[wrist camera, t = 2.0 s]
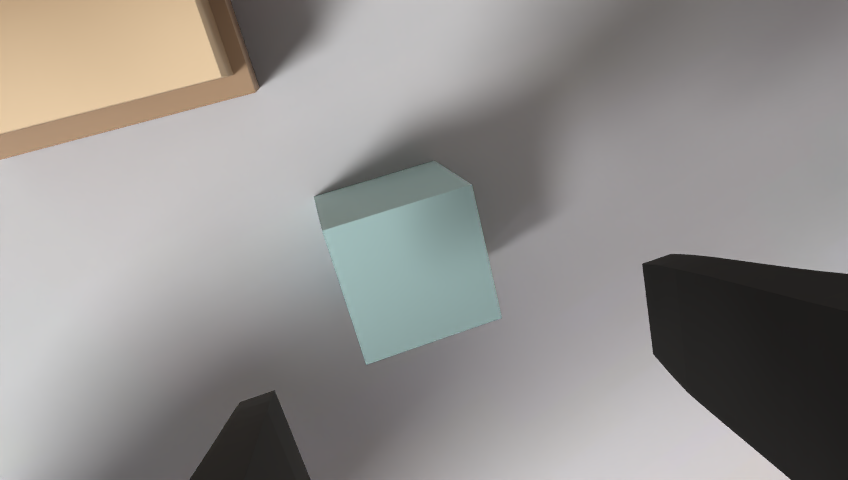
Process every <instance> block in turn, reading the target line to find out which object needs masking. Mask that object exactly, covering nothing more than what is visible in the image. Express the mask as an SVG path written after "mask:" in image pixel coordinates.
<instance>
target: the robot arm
mask: <svg viewBox="0 0 848 480" xmlns="http://www.w3.org/2000/svg"><path fill="white" fill-rule="evenodd" d="M642 265H643V274H644V282H645V290H646V298H647V307H648V315H649V323H650V331H651V339H652V348H653V354H654V355H655V357H656V358H657V359H658V360H659V361H660V362H661V364H662V365H663V366H664V367H665V368H666V369H667V370H668V372H669V373H670V374H671V375H672V376H673V377H674V378H675V379H676V380H677V381H678V383H679V384H680V385H681V386H682V387H683V388H684V389H685V390H686V391H687V392H688V393H689V394H690V395H691V396H692V397H694V398H695V399H696V400H697V401H698V402H699V403H700V404H702V405H703V406H704V407H705V408H706V409H707V410H709V411H710V412H711V413H712V414H713V415H714V416H716V417H717V418H718V419H719V420H720V421H722V422H723V423H724V424H725V425H726V426H727V427H729V428H730V429H731V430H732V431H733V432H735V433H736V434H737V435H738V436H739V437H741V438H742V439H743V440H744V441H745V442H747V443H748V444H749V445H750V446H751V447H753V448H754V449H755V450H756V451H757V452H759V453H760V454H761V455H762V456H763V457H765V458H766V459H767V460H768V461H769V462H771V463H772V464H773V465H774V466H775V467H777V468H778V469H779V470H780V471H781V472H783V473H784V474H785V475H786V476H787V477H788V478H790V479H791V480H848V274H843V273H833V272H823V271H814V270H806V269H798V268H790V267H782V266H775V265H767V264H760V263H753V262H745V261H738V260H731V259H723V258H715V257H707V256H698V255H685V254H669V255H667V256H664V257H661V258H658V259H655V260H652V261H649V262H646V263H643V264H642ZM190 480H310V478H309V475H308V473H307V470H306V468H305V465H304V463H303V460H302V458H301V455H300V453H299V450H298V448H297V445H296V443H295V440H294V438H293V435H292V433H291V430H290V428H289V425H288V423H287V420H286V418H285V415H284V413H283V410H282V408H281V405H280V403H279V400H278V398H277V395H276V393H275V390H274V391H272V392H269V393H266V394H263V395H260V396H257V397H254V398H251V399H248V400H245V401H243V402H240V403H239V405H238V406H237V407H236V409H235V410H234V412H233V413H232V415H231V416H230V418H229V420H228V421H227V423H226V424H225V426H224V428H223V429H222V431H221V432H220V434H219V435H218V437H217V439H216V440H215V442H214V443H213V445H212V446H211V448H210V450H209V451H208V453H207V454H206V456H205V457H204V459H203V460H202V462H201V463H200V465H199V466H198V468H197V469H196V471H195V472H194V474H193V475H192V477H191V478H190Z"/></svg>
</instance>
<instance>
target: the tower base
mask: <svg viewBox="0 0 848 480" xmlns="http://www.w3.org/2000/svg"><path fill="white" fill-rule="evenodd" d="M208 1H209V4H210V7H211V10H212V13H213V16H214V19H215V22H216V25H217V28H218V31H219V33H220V36H221V39H222V42H223V45H224V48H225V51H226V54H227V57H228V60H229V63H230V66H231V69H232V71H233V74H234V75H232V76H228V77H224V78H220V79H216V80H212V81H208V82H205V83H201V84H197V85H193V86H189V87H185V88H181V89H177V90H173V91H169V92H165V93H161V94H157V95H154V96H150V97H146V98H142V99H138V100H134V101H130V102H126V103H122V104H118V105H114V106H110V107H106V108H103V109H99V110H95V111H91V112H87V113H83V114H79V115H75V116H71V117H67V118H63V119H59V120H55V121H52V122H48V123H44V124H40V125H36V126H32V127H28V128H24V129H20V130H16V131H12V132H8V133H4V134H1V135H0V160H1V159H5V158H9V157H12V156H16V155H20V154H24V153H28V152H31V151H35V150H39V149H43V148H47V147H50V146H54V145H58V144H62V143H65V142H69V141H73V140H77V139H81V138H84V137H88V136H92V135H96V134H100V133H103V132H107V131H111V130H115V129H119V128H122V127H126V126H130V125H134V124H138V123H141V122H145V121H149V120H153V119H157V118H160V117H164V116H168V115H172V114H176V113H179V112H183V111H187V110H191V109H195V108H198V107H202V106H206V105H210V104H213V103H217V102H221V101H225V100H229V99H232V98H236V97H240V96H244V95H248V94H251V93H255V92H256V91H257V90H258V89H259V85H258V82H257V79H256V76H255V73H254V70H253V67H252V64H251V61H250V58H249V55H248V52H247V49H246V46H245V43H244V40H243V37H242V34H241V31H240V28H239V25H238V22H237V19H236V16H235V13H234V10H233V7H232V4H231V1H230V0H208Z"/></svg>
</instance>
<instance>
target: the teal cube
mask: <svg viewBox="0 0 848 480" xmlns="http://www.w3.org/2000/svg"><path fill="white" fill-rule="evenodd" d="M314 199H315V203H316V207H317V211H318V215H319V219H320V224H321V228H322V232H323V235H324V238H325V241H326V244H327V247H328V250H329V253H330V256H331V259H332V262H333V265H334V268H335V271H336V274H337V277H338V280H339V283H340V287H341V290H342V293H343V296H344V299H345V302H346V305H347V308H348V311H349V314H350V317H351V320H352V323H353V326H354V329H355V332H356V335H357V338H358V341H359V345H360V348H361V351H362V354H363V357H364V360H365V363H366V365H368V364H371V363H374V362H376V361H379V360H382V359H385V358H388V357H391V356H394V355H397V354H399V353H402V352H405V351H408V350H411V349H414V348H417V347H420V346H423V345H425V344H428V343H431V342H434V341H437V340H440V339H443V338H446V337H449V336H451V335H454V334H457V333H460V332H463V331H466V330H469V329H472V328H474V327H477V326H480V325H483V324H486V323H489V322H492V321H495V320H498V319H500V318H502V316H501V312H500V307H499V303H498V299H497V294H496V290H495V285H494V281H493V276H492V272H491V267H490V263H489V258H488V254H487V249H486V245H485V240H484V236H483V231H482V227H481V222H480V218H479V214H478V209H477V205H476V200H475V196H474V191H473V187H472V184H470V183H469V182H467V181H466V180H464V179H463V178H461V177H459V176H458V175H456V174H455V173H453V172H452V171H450V170H448V169H447V168H445V167H444V166H442V165H441V164H439V163H437V162H436V161H431V162H428V163H425V164H421V165H418V166H415V167H411V168H408V169H405V170H401V171H398V172H395V173H391V174H388V175H385V176H381V177H378V178H375V179H371V180H368V181H365V182H361V183H358V184H354V185H351V186H348V187H344V188H341V189H338V190H334V191H331V192H328V193H324V194H321V195H318V196H314Z"/></svg>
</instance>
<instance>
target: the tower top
mask: <svg viewBox="0 0 848 480" xmlns="http://www.w3.org/2000/svg"><path fill="white" fill-rule="evenodd" d="M232 75H234V74H233V71H232V69H231V66H230V63H229V60H228V57H227V54H226V51H225V48H224V45H223V42H222V39H221V36H220V33H219V31H218V28H217V25H216V22H215V19H214V16H213V13H212V10H211V7H210V4H209V1H208V0H0V135H1V134H4V133H8V132H12V131H16V130H20V129H24V128H28V127H32V126H36V125H40V124H44V123H48V122H52V121H55V120H59V119H63V118H67V117H71V116H75V115H79V114H83V113H87V112H91V111H95V110H99V109H103V108H106V107H110V106H114V105H118V104H122V103H126V102H130V101H134V100H138V99H142V98H146V97H150V96H154V95H157V94H161V93H165V92H169V91H173V90H177V89H181V88H185V87H189V86H193V85H197V84H201V83H205V82H208V81H212V80H216V79H220V78H224V77H228V76H232Z"/></svg>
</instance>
